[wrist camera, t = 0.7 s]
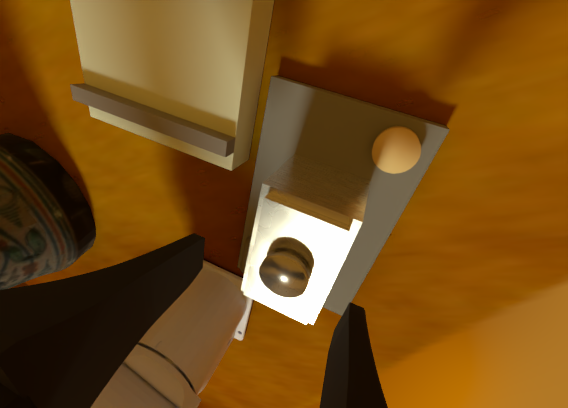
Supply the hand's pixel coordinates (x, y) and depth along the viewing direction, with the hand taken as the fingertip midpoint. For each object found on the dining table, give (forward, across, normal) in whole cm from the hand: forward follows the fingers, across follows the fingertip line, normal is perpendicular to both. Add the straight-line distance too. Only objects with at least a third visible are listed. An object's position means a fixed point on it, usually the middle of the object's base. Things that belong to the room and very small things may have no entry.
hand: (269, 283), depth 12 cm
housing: (+7, 0, 0) cm, 7 cm away
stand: (+8, +12, -8) cm, 16 cm away
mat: (+8, 0, 0) cm, 8 cm away
